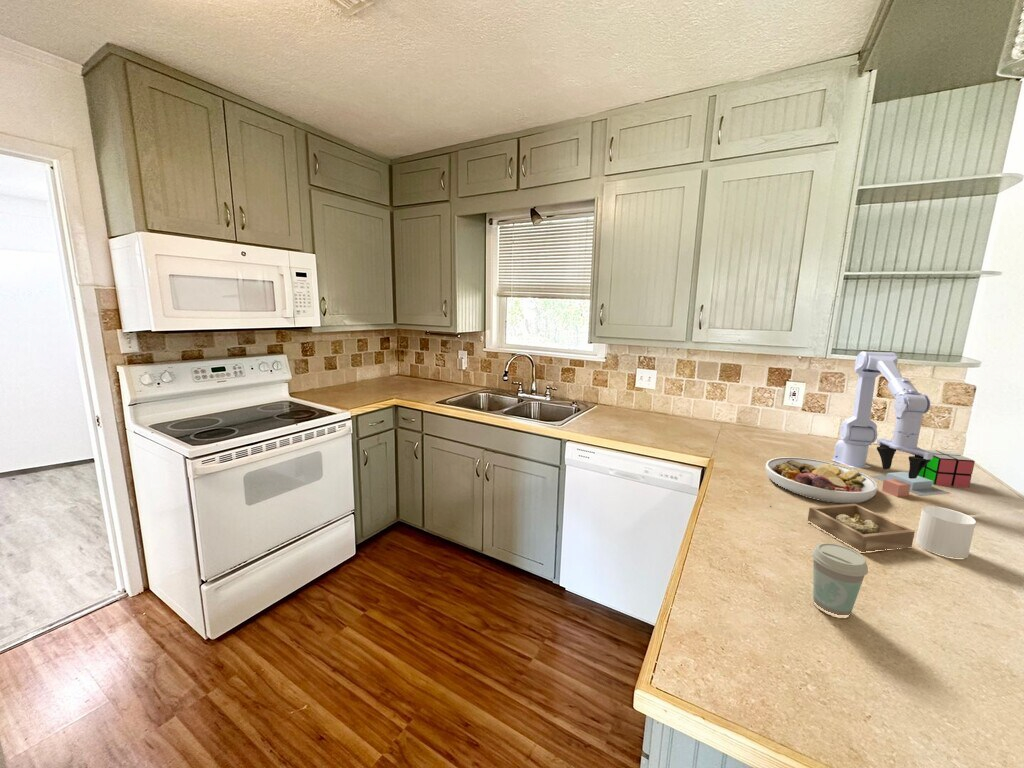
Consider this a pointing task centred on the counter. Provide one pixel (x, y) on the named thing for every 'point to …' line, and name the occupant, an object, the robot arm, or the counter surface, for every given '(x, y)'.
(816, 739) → the counter surface
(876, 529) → the mottled green lump
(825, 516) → the wooden tray
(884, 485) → the pink cube
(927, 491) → the baseplate
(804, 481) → the bowl
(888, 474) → the light grey square block
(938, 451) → the puzzle cube
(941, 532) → the mug
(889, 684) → the counter surface
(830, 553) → the coffee cup
